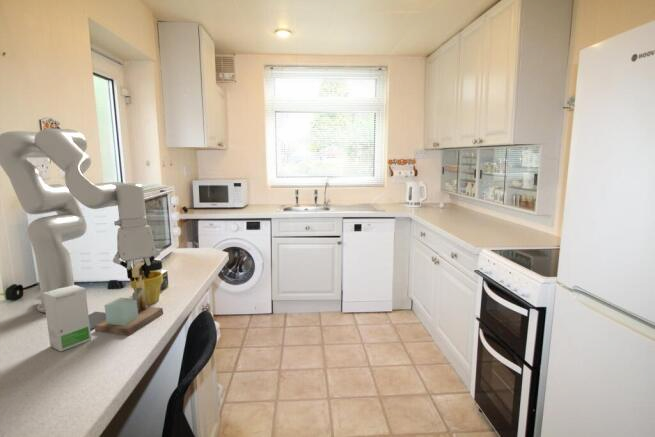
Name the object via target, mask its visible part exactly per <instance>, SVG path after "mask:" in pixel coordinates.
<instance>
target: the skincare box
mask: <svg viewBox="0 0 655 437" xmlns="http://www.w3.org/2000/svg"><path fill="white" fill-rule="evenodd" d="M43 296H44V303H45V310H46V313H45V315H46V316H45V317H46V322H47V323H46V324H47V330H48V338H49V339H48V340H49V345H50V346H51V347H52V348H54V349H55V350H57V351H59V352H63V351H65V350H68V349H71V348H74V347H76V346H78V345H81V344H84V343H86V342H90V341H91V340H92V333H91V332H92V331H90V323H89V307H88V301H87V300H88V299H87V292H86V288H85V287H83V286H80V285H76V284H74V285H73V286H69V287H64V288H59V289H56V290H52V291H48V292H44V293H43Z"/></svg>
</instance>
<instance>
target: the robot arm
mask: <svg viewBox="0 0 655 437" xmlns="http://www.w3.org/2000/svg"><path fill="white" fill-rule="evenodd" d="M87 148H88V143H87V139H86V138H85V136H84V135H83V133H81V132H80V131H77V130H75V129H67V128H66V129H65V128H54V127H53V128H44V129H40V130H39V131H22V130H21V131H20V130H16V131H15V130H12V131H5V132H2V133H0V167H1V168H2V169H3V171H4V172H5V174H6V175H7V177H8V179H9V181H10V184H11V186H12V188H13V190H14V193H15V195H16V197H17V199H18V202H19V203H20V206H21V207H22V210H23V211H24V212H25V213H27V215H28V214H29V215H42V214H49V213H55V212H56V214H55V215H54V214H53V215H48V216H47V215H46V216H41V217H39V218H37V219H34V220H32V221H31V222H30V223H29V224H28V226H27V231H26V232H27V233H26V234H27V236H28V239H29V241H30V244H31V247H32V249H33V252H34V257H35V263H36V270H37V276H38V282H39V288H40V292H39V295H36V296H35V299H36V300H40V303H39V304H38V305H37V311H38V312H40V313H44V314H46V310H45V303H44V296H43V293H44V292H48V291H52V290H56V289H59V288H64V287H69V286H73V285H75V280H74V272H73V267H72V259H71V253H70V252H69V250H68V248H66V247H65V246H64V244H63V242H68V241H71V240H75V239H78V238H81V237H83V236H84V235H85V233H86V232H87V222H86V219H85V217H84V214H83V211H82V210H81V206H80V204H81V205H83V206H84V207H86V208H89V209H92V210H98V209H103V208H104V209H105V208H109V207H116V206H117V211H118V220H116V221H115V220H114V221H113V222H114V223H113V224H114V226H119V227H118V228H117V233H116V234H117V235H116V237H117V239H116V243H117V248H116V249H117V251H116V254H115V255H114V257H113V259H112V262H113V263H114V264H116V265H120V266H122V267H123V268H125V269H126V276H127V279H129V281H130V280H131V281H134V277H132V269H133V267H132V262H133V261H135V260H140V259H143V262H144V264H143V270H144V271H143V272H144V276H145V277H146V278H149V274H150V265H151V263H152V261H153V260H154V259H157V257H159V256H160V255H161V253H160V251H158V249H157V248H156V246H155V241H154V236H153V231H152V228H151V225H149V224H148V221H147V210H146V204H145V203H146V201H145V199H146V198H145V191H144V190H145V189H144V186H143V185H142V184H141V183H138V182H137V183H136V182H130V183H129V182H128V183H125V182H122V181H121V182H118V181H112V182H101V183H92V182H91V181H90V180H89V179H88V178H86V177H85V176H84V175H83V174H84V173H86V172H87V170H88V169H89V168H90V167H91V164H92V160H91V158H90V156H89V155H88V154H87V153H86V150H87ZM27 158H30V159H31V158H32V159H34V158H41V159H42V158H47V159H49V160H51V162H53V163H54V165H56V166H57V167H58V168H59V169H60V170H62V171H63V172H64V182H65V184H60V183H59V184H58V183H54V184H47V183H46V182H45V180H44V178H43V175H42V173H41V171H40V170H39V169H38V168H37V166H36V165H34V164H33V163H32V162H31V161H29V160H27ZM79 203H80V204H79Z"/></svg>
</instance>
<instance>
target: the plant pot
mask: <svg viewBox="0 0 655 437" xmlns="http://www.w3.org/2000/svg"><path fill="white" fill-rule="evenodd" d="M143 277H144V286H145V296H146V306H147V305H152V304H155V303H157V302H159V299H160V295H161V293H160V288H161V284H162V283H163V276H162V273H161V272H159V271H150V274H149V278H146V277H145V276H144V271H143ZM129 283H130V287H131V289H132V290H133V291H135V290H136V281H135V277H134V281H131V280H130V279H129ZM136 300H137V301H138V299H136Z"/></svg>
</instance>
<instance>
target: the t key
mask: <svg viewBox="0 0 655 437" xmlns="http://www.w3.org/2000/svg"><path fill="white" fill-rule="evenodd" d="M143 264H144V261H142V262H137V263H136V264H135V265H134V266H133V267H132V277H135V281H136V290H135V291H134V290H133V291H134V292H133V293H132V299H136V300H137V299H138V300H137V306H138V309H139V310H143V309H146V308H147V307H148V306H147V305H146V296H145V286H144V277H143V272H144V270H143Z"/></svg>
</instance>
